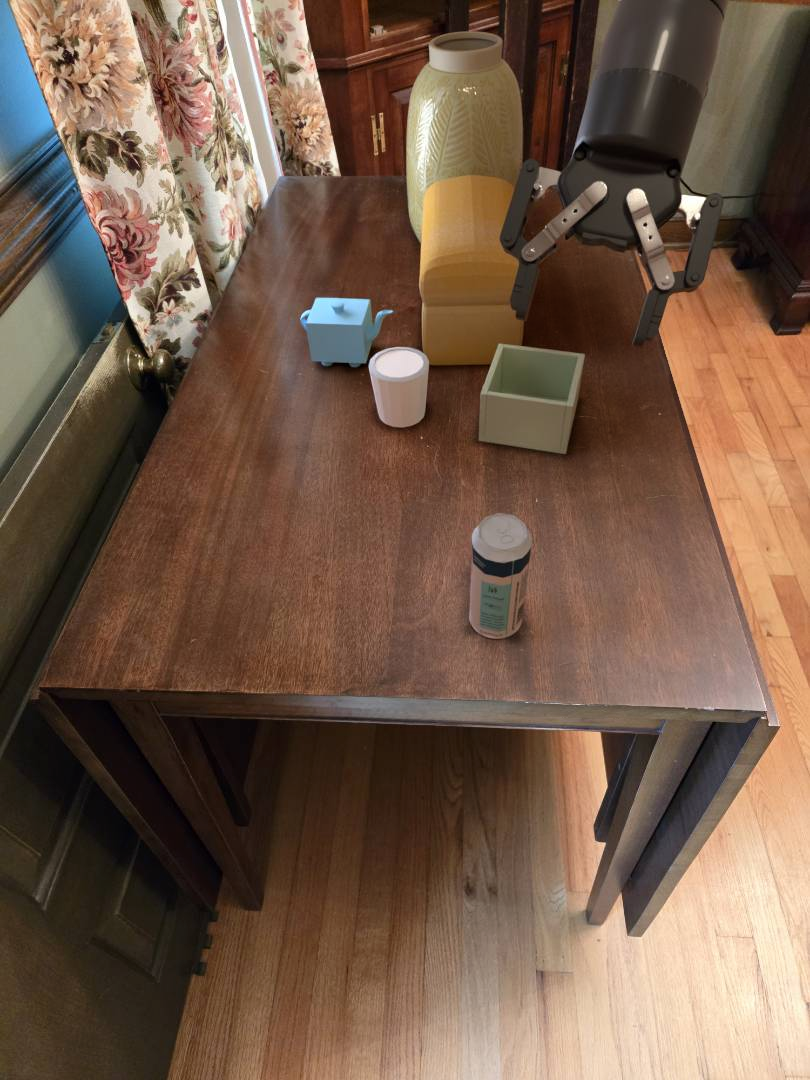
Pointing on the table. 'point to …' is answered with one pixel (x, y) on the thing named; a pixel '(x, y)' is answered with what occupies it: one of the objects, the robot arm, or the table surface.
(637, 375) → the table surface
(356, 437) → the table surface
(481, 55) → the vase
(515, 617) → the beer can
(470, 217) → the bread
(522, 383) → the bin
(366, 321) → the teapot
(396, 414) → the white cup
